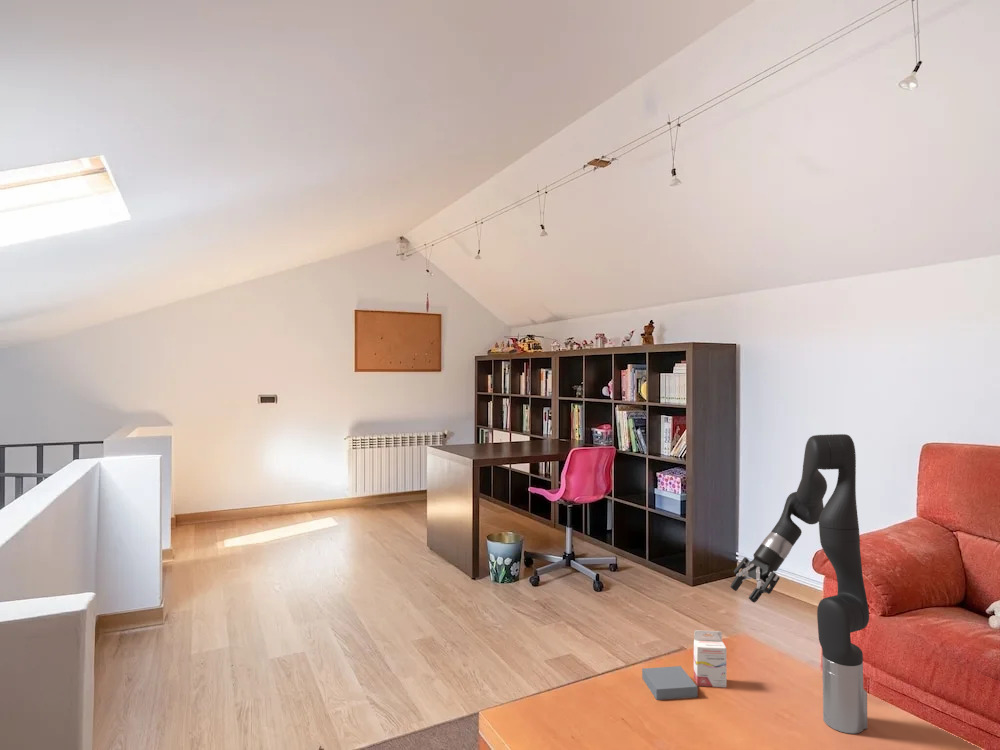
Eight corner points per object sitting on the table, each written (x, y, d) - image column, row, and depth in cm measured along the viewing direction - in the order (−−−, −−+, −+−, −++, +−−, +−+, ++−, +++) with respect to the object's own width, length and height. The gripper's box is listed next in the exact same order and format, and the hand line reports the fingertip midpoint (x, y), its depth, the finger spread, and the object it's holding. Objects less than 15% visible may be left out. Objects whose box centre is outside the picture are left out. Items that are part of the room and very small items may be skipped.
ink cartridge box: (697, 686, 176) (696, 636, 176) (693, 678, 181) (692, 629, 181) (727, 687, 175) (726, 637, 175) (722, 679, 180) (722, 630, 180)
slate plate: (680, 675, 182) (680, 666, 182) (697, 697, 170) (697, 686, 170) (642, 678, 181) (642, 668, 181) (656, 700, 169) (656, 689, 169)
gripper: (749, 536, 187) (719, 578, 185) (781, 551, 173) (749, 597, 171) (764, 550, 189) (735, 592, 187) (798, 566, 175) (766, 612, 173)
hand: (741, 594), depth 179 cm, fingers open, 8 cm apart
